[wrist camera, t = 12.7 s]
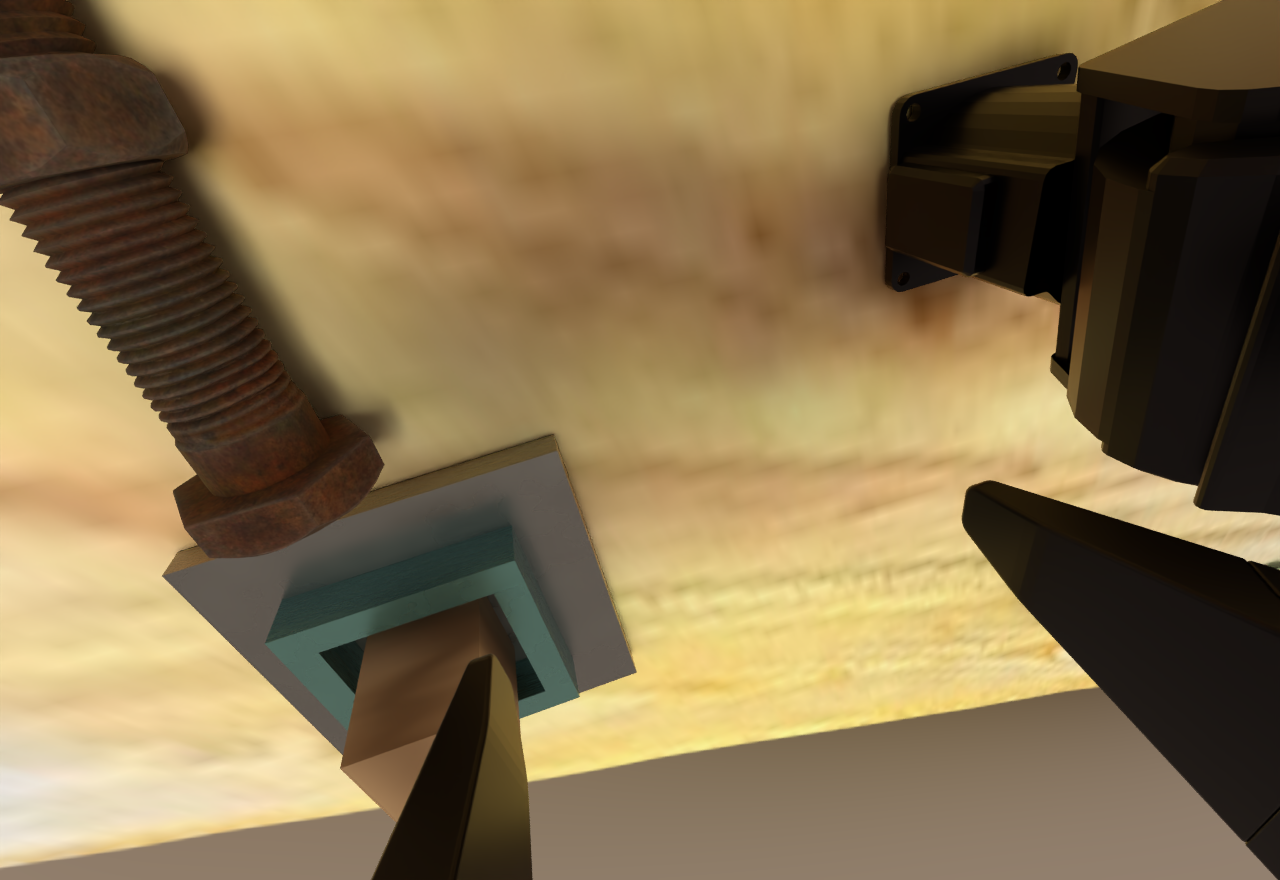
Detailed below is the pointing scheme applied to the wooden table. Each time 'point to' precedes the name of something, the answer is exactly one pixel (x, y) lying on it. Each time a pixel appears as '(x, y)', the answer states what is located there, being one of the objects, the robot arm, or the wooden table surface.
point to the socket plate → (423, 584)
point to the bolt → (163, 288)
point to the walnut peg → (415, 694)
